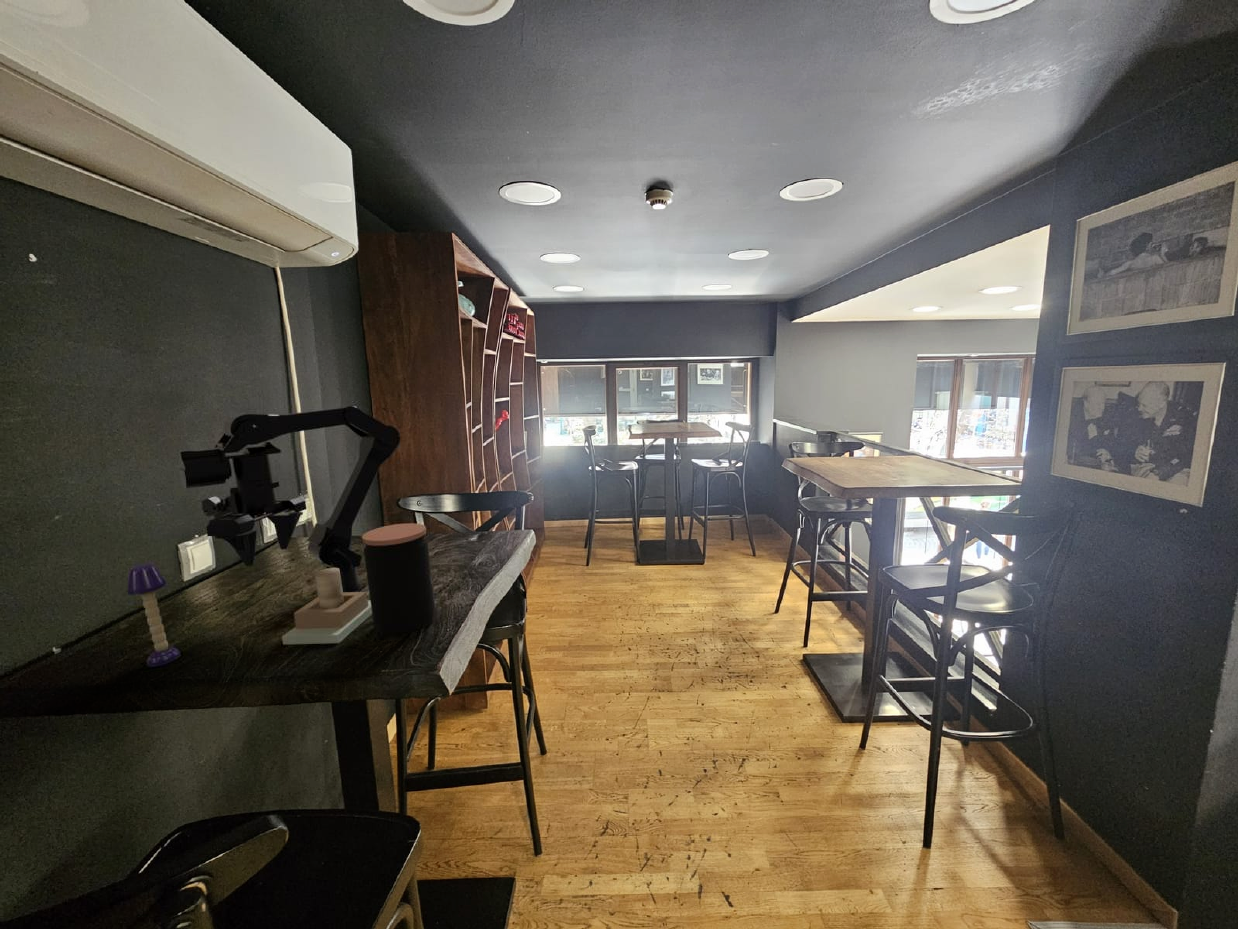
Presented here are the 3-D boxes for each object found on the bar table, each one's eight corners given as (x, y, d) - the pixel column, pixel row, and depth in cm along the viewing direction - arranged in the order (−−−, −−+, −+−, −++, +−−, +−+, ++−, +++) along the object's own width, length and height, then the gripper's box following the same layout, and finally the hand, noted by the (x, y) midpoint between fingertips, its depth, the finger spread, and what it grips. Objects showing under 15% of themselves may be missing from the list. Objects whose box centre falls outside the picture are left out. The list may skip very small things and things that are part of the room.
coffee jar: (448, 617, 94) (438, 526, 91) (398, 644, 84) (386, 544, 82) (412, 606, 99) (401, 520, 96) (362, 630, 90) (348, 536, 87)
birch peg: (330, 612, 95) (323, 568, 93) (350, 611, 94) (343, 567, 93) (316, 622, 91) (309, 576, 89) (337, 621, 90) (331, 575, 89)
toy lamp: (136, 670, 80) (114, 573, 77) (154, 655, 84) (134, 563, 82) (172, 664, 81) (151, 568, 78) (187, 650, 86) (169, 559, 83)
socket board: (331, 608, 100) (328, 587, 99) (379, 607, 99) (377, 586, 99) (283, 644, 86) (279, 620, 85) (338, 643, 86) (335, 619, 85)
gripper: (251, 472, 103) (263, 543, 106) (168, 491, 85) (185, 577, 87) (302, 470, 103) (313, 541, 105) (230, 489, 84) (245, 575, 87)
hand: (267, 557), depth 96 cm, fingers open, 9 cm apart
